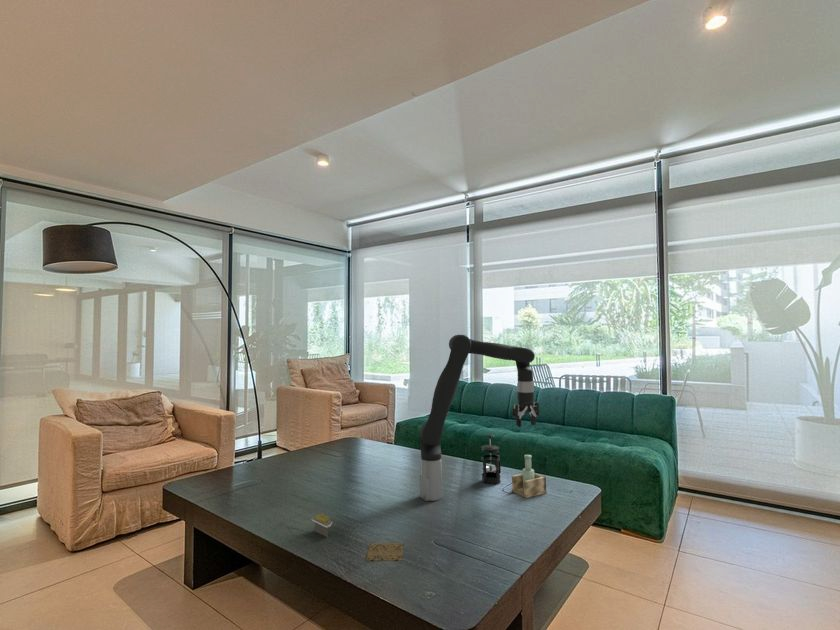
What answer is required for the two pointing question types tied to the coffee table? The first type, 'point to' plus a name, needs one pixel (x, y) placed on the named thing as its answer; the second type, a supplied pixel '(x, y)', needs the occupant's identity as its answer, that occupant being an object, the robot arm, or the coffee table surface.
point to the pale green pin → (527, 469)
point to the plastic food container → (322, 524)
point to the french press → (490, 472)
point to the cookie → (385, 552)
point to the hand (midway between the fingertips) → (526, 425)
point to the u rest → (529, 485)
